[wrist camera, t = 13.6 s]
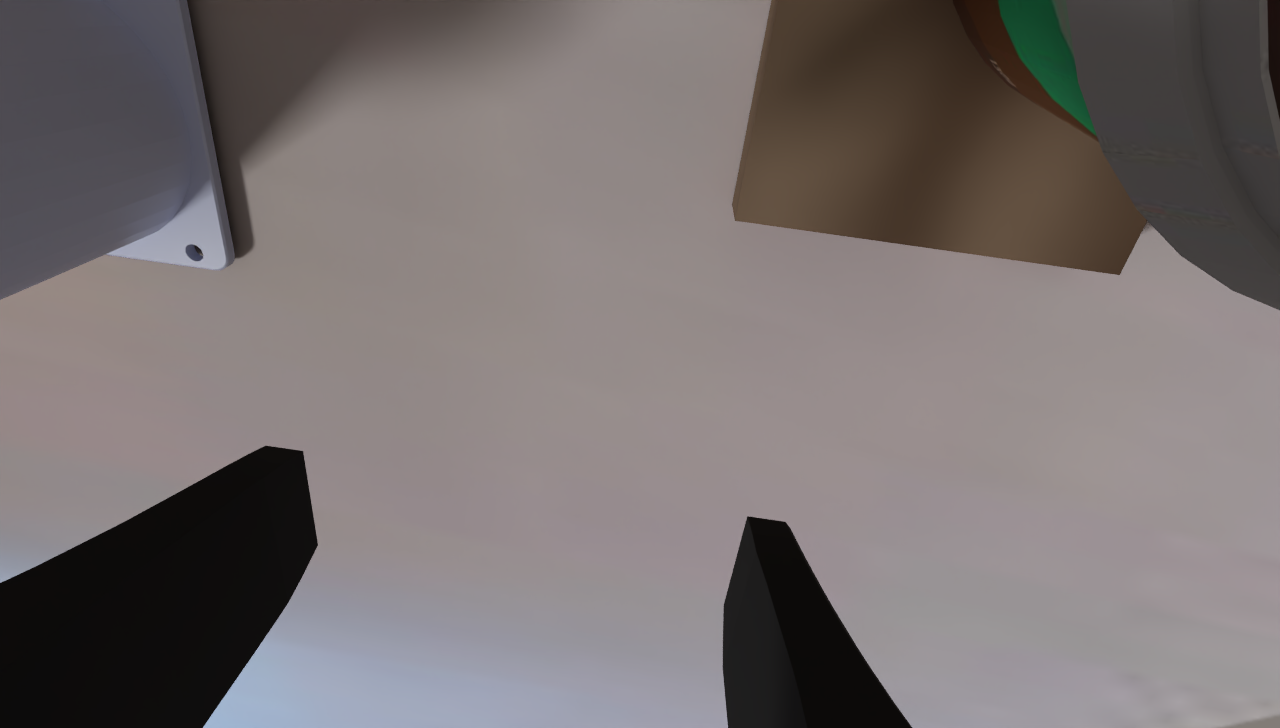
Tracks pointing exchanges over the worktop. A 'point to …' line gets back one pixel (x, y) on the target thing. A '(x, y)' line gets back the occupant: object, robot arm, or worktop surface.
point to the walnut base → (919, 143)
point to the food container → (1163, 112)
